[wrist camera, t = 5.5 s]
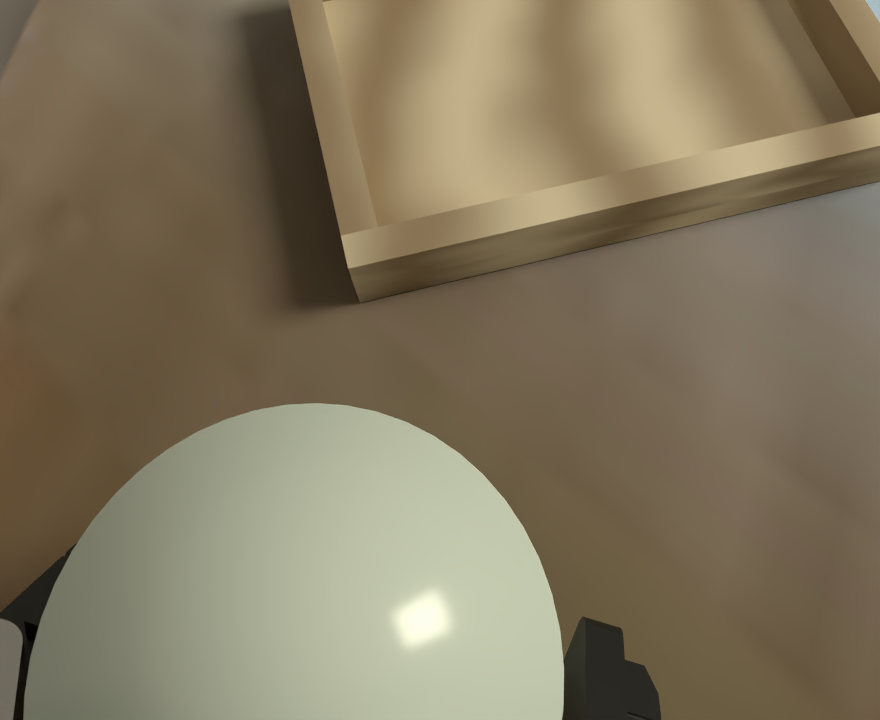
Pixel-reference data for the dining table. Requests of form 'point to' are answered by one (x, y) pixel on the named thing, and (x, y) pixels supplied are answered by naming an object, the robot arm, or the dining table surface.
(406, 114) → the tray
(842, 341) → the dining table surface
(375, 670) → the sage domed cylinder
